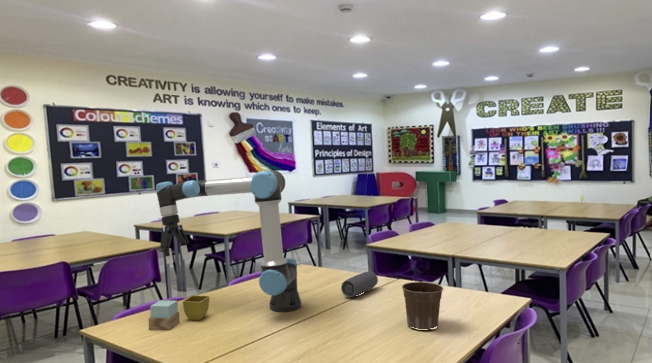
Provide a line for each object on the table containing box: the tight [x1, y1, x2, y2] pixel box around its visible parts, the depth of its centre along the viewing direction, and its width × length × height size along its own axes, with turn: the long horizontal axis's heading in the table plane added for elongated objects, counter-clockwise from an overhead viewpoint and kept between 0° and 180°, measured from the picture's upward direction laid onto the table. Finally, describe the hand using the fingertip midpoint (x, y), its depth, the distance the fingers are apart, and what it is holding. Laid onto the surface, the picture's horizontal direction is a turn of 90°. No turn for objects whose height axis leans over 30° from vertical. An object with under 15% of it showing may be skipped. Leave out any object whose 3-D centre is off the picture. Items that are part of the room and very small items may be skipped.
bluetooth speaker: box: [340, 270, 379, 298], centre depth 228 cm, size 23×9×10 cm, turn 144°
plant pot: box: [401, 281, 444, 329], centre depth 180 cm, size 16×16×16 cm
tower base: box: [148, 311, 180, 331], centre depth 188 cm, size 9×9×5 cm
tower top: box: [149, 299, 179, 318], centre depth 188 cm, size 8×8×5 cm
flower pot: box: [182, 295, 210, 321], centre depth 197 cm, size 9×9×9 cm
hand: (178, 261), depth 202 cm, fingers open, 13 cm apart
